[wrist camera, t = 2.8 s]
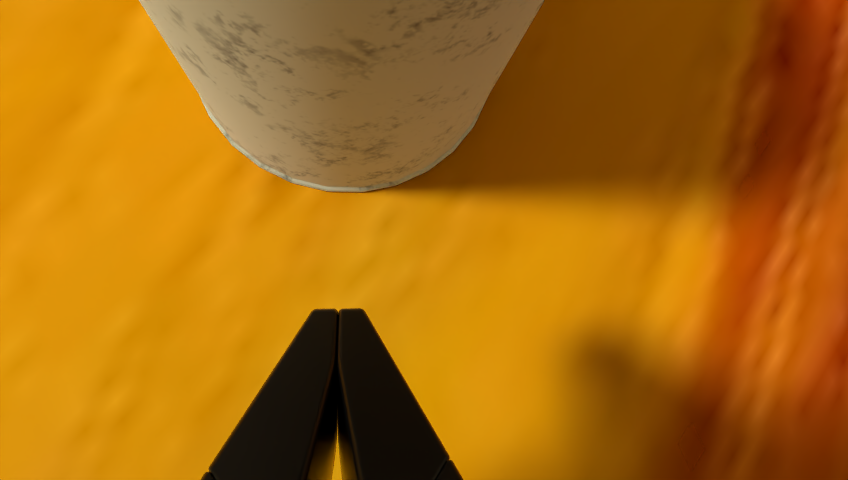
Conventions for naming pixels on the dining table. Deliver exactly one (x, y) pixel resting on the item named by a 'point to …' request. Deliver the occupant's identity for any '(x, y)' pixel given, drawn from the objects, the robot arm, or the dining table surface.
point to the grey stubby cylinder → (343, 79)
